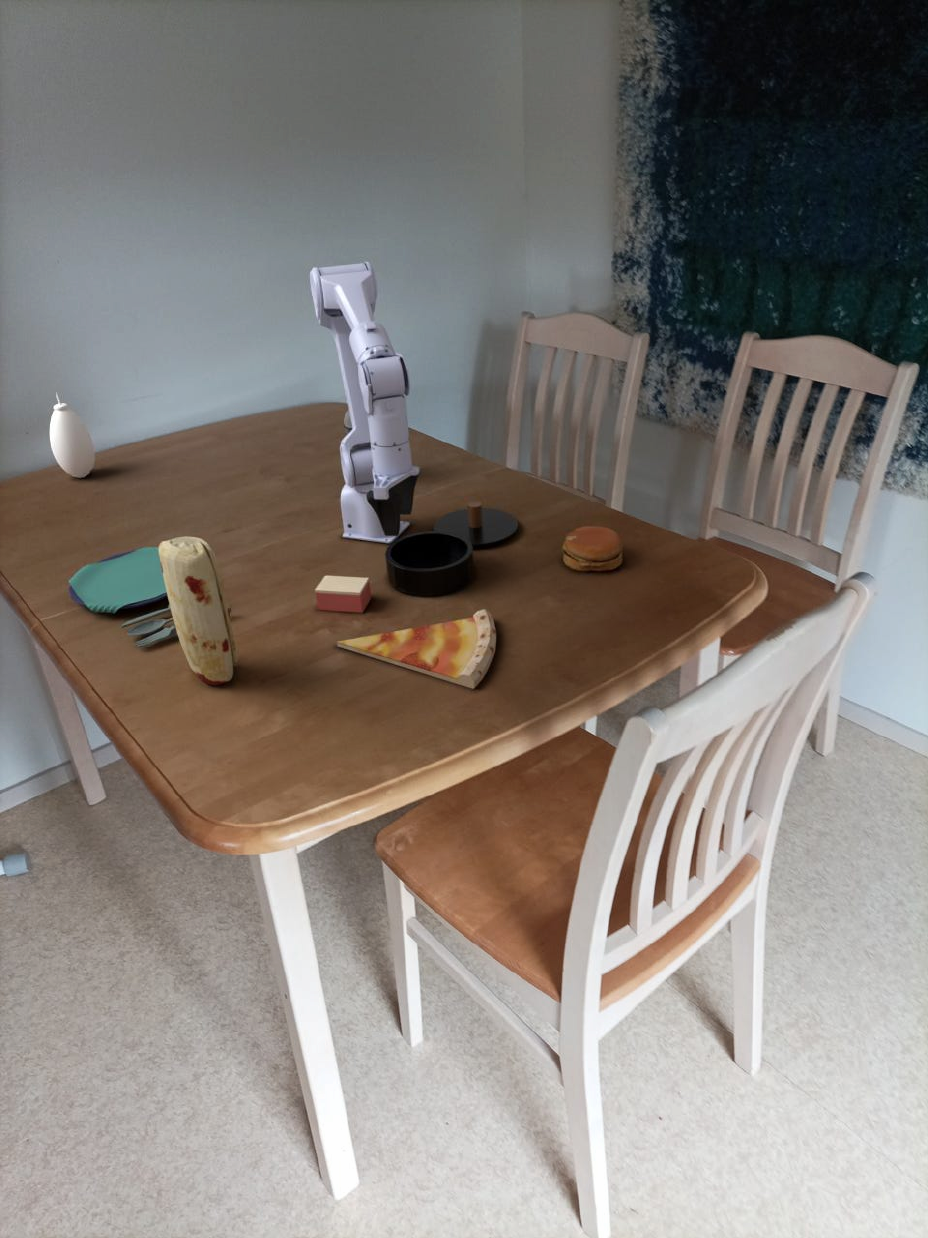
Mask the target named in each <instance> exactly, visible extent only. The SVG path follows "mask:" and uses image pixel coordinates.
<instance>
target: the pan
mask: <svg viewBox="0 0 928 1238" xmlns="http://www.w3.org/2000/svg"><path fill="white" fill-rule="evenodd" d="M384 558H385V566H386V568H385V569H386V577H387V580H388V583H389V585H390V587H392V589H394V590H395V591H396V592H399V593H401V594H403V595H407V596H412V597H420V598H429V597H432V598H433V597H440V596H446V595H449V594H452V593H455V592H458V591H460V590H461V589H463V588H465V587H466V586H468V585H469V584H470V583H471V582H472V580H473V579H474V576H475V575H474V574H475V572H474V570H475V567H474V566H475V565H474V547H473V546H472V545H471V543H470V541H469V540H467V539H466V538H464V537H463V536H460V535H457V534H454V533H449V532H442V531H434V530H432V531H431V530H430V531H429V530H428V531H420V532H414V533H411V534H408V535H407V534H406V535H403V536H401V537H400V538H396V539H395V540H394V541H393V542H392V543H389V545H388V546H387V547H386V550H385V553H384Z"/></svg>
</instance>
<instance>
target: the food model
mask: <svg viewBox="0 0 928 1238" xmlns="http://www.w3.org/2000/svg"><path fill="white" fill-rule="evenodd" d="M158 547H159V548H158V551H159V557H160V563H161V568H162V572H163V577H164V582H165V587H166V591H167V595H168V597H167V599H168V603H169V605H170V607H171V612H172V613H171V612H170V613H171V616H172V617H173V623H174V627H176V631H177V634H176V635H177V637H178V640H179V643H180V646H181V648H182V651H183V653H184V655H185V658H186V660H187V663H188V666H189V667H190V669H191V671H192V672H193V673H194V675H195V676H196V677H197V678H198V679H199V680H200V681H202V682H203V683H204V684H207V685H210V686H220V685H222V684H225V683H228V682H230V681H231V680H232V677H233V676H234V675H233V674H234V667H235V666H236V664H237V663H238V660H239V659H238V651H237V644H236V639H235V634H234V629H233V623H232V619H231V613H229V608H228V606H229V603H228V599H227V596H226V592H225V587H224V582H223V579H222V573H221V568H220V565H219V562H218V559H217V556H216V554H215V552H214V550H213V548H211V546H210V544H209V543H208V542H206V540H204V539H202V538H201V537H196V536H186V535H185V536H179V537H173V538H171V539H168V540H162V541H161V542H160V543H159V545H158Z"/></svg>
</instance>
